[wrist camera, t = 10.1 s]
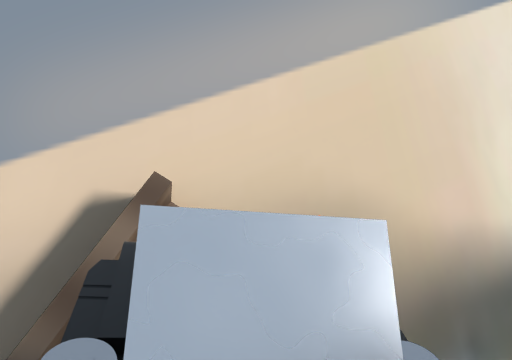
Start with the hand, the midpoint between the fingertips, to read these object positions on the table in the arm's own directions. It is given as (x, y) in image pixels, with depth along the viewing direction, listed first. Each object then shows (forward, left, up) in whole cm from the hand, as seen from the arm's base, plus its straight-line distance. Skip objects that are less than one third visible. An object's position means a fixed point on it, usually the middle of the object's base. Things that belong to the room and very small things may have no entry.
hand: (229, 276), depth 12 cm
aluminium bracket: (+1, +3, -4) cm, 5 cm away
